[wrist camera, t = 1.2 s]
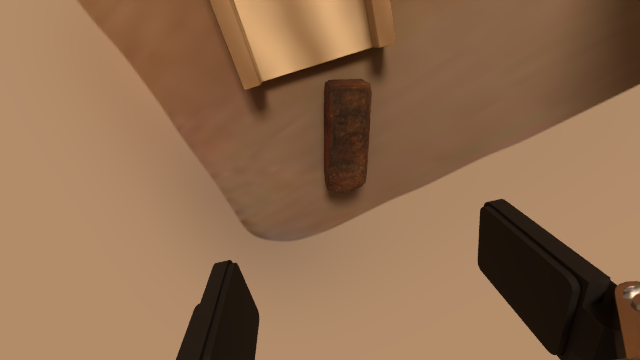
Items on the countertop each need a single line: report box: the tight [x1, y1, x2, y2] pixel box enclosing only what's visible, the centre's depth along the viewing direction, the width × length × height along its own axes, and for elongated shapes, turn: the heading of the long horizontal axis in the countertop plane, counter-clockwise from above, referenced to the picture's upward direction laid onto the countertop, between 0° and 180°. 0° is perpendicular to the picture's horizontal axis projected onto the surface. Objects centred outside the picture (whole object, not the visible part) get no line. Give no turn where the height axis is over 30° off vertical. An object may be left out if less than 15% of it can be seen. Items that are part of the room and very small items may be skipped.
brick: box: [324, 79, 372, 193], centre depth 29 cm, size 11×4×5 cm, turn 1°
